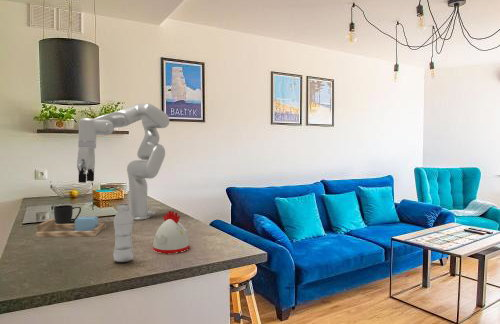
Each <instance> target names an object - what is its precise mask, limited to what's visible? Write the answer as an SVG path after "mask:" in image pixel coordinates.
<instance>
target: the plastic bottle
mask: <svg viewBox="0 0 500 324" xmlns="http://www.w3.org/2000/svg"><path fill="white" fill-rule="evenodd" d="M116 207H117V209H116V211H117V212H116V214H115V216H114V217H113V221H112V222H113V228H114V239H115V240H114V249H113V254H112V255H113V260H114V262H116V263H126V262H130V261H132V259H133V258H134V248H133V242H132V241H133V239H132V238H133V236H132V234H133V225H134V220H133V217H132V215H131V214H130V213H129V203H119V204H117V205H116Z"/></svg>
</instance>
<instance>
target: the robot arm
mask: <svg viewBox="0 0 500 324" xmlns="http://www.w3.org/2000/svg"><path fill="white" fill-rule="evenodd" d="M139 121H141V125H142V127H143V130H144V136H143V138H142V141H141V143H140V145H139V148H138V150H137V153H136V154H137V158H138V159H134V160H132V161H130V162H129V163H128V164H127V167H126V171H127V177H128V187H129V188H128V189H129V190H128V191H129V192H128V199H129V201H128V204H129V210H128V212H129V213H130V214H131V215H132V217H133V221H140V220H147V219H150V218H151V215H154V216H155V215H156V210H149V209H150V208H148V182H147V180H146V179H154V178H156V177H157V175H158V174H159V171H160V169H161V166H162V165H163V162H164V160H165V157H166V149H165V147H164V146H163V145H162V144H160V134H159V132H158V129H165V128H167V127H168V126H169V124H170V117H169V115H168V114H167V113H166V112H165V111H163V110H162V109H159V107H157V106H155V105H154V104H151V103H136V104H132V105H130V106H127V107H126V108H123V109H119V110H117V111H114V112H110V113H108V114H103V115H99V116H97V117H94V118H91V117H90V118H87V117H83V118H80V119H79V120H78V140H77V141H78V142H77V143H78V146H77V148H78V151H77V159H76V161H77V162H76V168H77V171H78V172H77V173H78V181H77V182H78V184H79V183H80V184H81V183H82V184H84V183H87V182H94V181H95V167H96V165H95V164H96V153H95V150H96V149H97V136H109V135H111V134H112V133H114V129H118V128H119V129H120V128H124V127H128V126H130V125H132V124H134V123H136V122H139Z"/></svg>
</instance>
